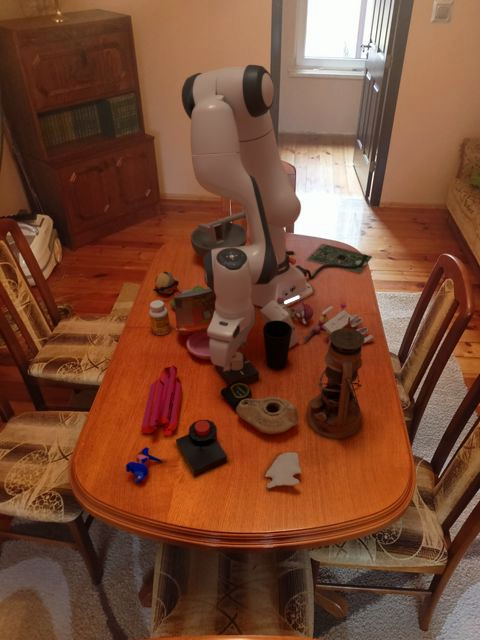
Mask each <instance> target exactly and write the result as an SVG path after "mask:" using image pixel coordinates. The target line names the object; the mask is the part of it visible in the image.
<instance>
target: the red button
mask: <svg viewBox="0 0 480 640" xmlns="http://www.w3.org/2000/svg"><path fill="white" fill-rule="evenodd" d="M201 420H202V421H198V420H197V421H198V422H197V423H196V424H195V433H196V434H197V435H198V436H200V437H204V436H207V435H208V434H209V433H210V424H209V423H208V422H207V421H204V420H205V419H201Z"/></svg>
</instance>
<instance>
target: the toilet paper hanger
mask: <svg viewBox="0 0 480 640" xmlns="http://www.w3.org/2000/svg"><path fill="white" fill-rule="evenodd" d="M241 219H246V215H245V210H244V209H241V210H240V212H238V213H234V214H231V215H228V216H225V217H221V218H218V219H216V220H214V221H211V222H208V223H203V222H200V223H198V224H197V228H199V231H201V232H204V233H206V234H209V235H210V236H211V237H212V240H213V242H214V243H217V244H218V243H221V242H223V241H225V238H224V232H223V224H226V223H233V222H235V221H238V220H241Z"/></svg>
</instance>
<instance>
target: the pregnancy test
mask: <svg viewBox="0 0 480 640" xmlns="http://www.w3.org/2000/svg"><path fill="white" fill-rule="evenodd" d="M333 309H334V306H332V305H330V306H329V307H328V308H326V309H324V310H323V311H321V315H320V316H323V315H325V314H326V315H327V314H328V313H329V312H331V311H332V310H333ZM352 316H353V315H350V313H348V312H347V311H346V310H345V309H343V311H342V310H341V311H340V312H338V314H336V315H334V316H333V317H332V318H329V321H328V322H326V323H325V324H324V325H323V326H322V327H323V328H324V329H323V330H324V331H326V332H327V333H328V335H329V334H330V335H331V333H332V332H333V331H335V330H337V329H341V328H346V326H348V319H349V317H350V323H351V321H352V320H353V319H354V318H353V317H352Z"/></svg>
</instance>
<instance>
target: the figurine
mask: <svg viewBox="0 0 480 640" xmlns="http://www.w3.org/2000/svg"><path fill="white" fill-rule="evenodd" d="M149 450H150V448H149V447H147V446H145V447H144V448H142V449H141V451H139V452H137V454H136V455H135V457H136V458H135V459H136V461H130V462H127V463H126V465H125V471H126V473H131V474H132V475H133V477H134V478H135V484H141V482H143V481H144V480H145V479H146V477H147V476H148V475H149V467H148V466H147V465H146V463H147V462H148V460H150V461H154V462H159V463H163V461H162V460H161V459H160V458H158V457H155V456H154V455H152V454H149Z"/></svg>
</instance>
